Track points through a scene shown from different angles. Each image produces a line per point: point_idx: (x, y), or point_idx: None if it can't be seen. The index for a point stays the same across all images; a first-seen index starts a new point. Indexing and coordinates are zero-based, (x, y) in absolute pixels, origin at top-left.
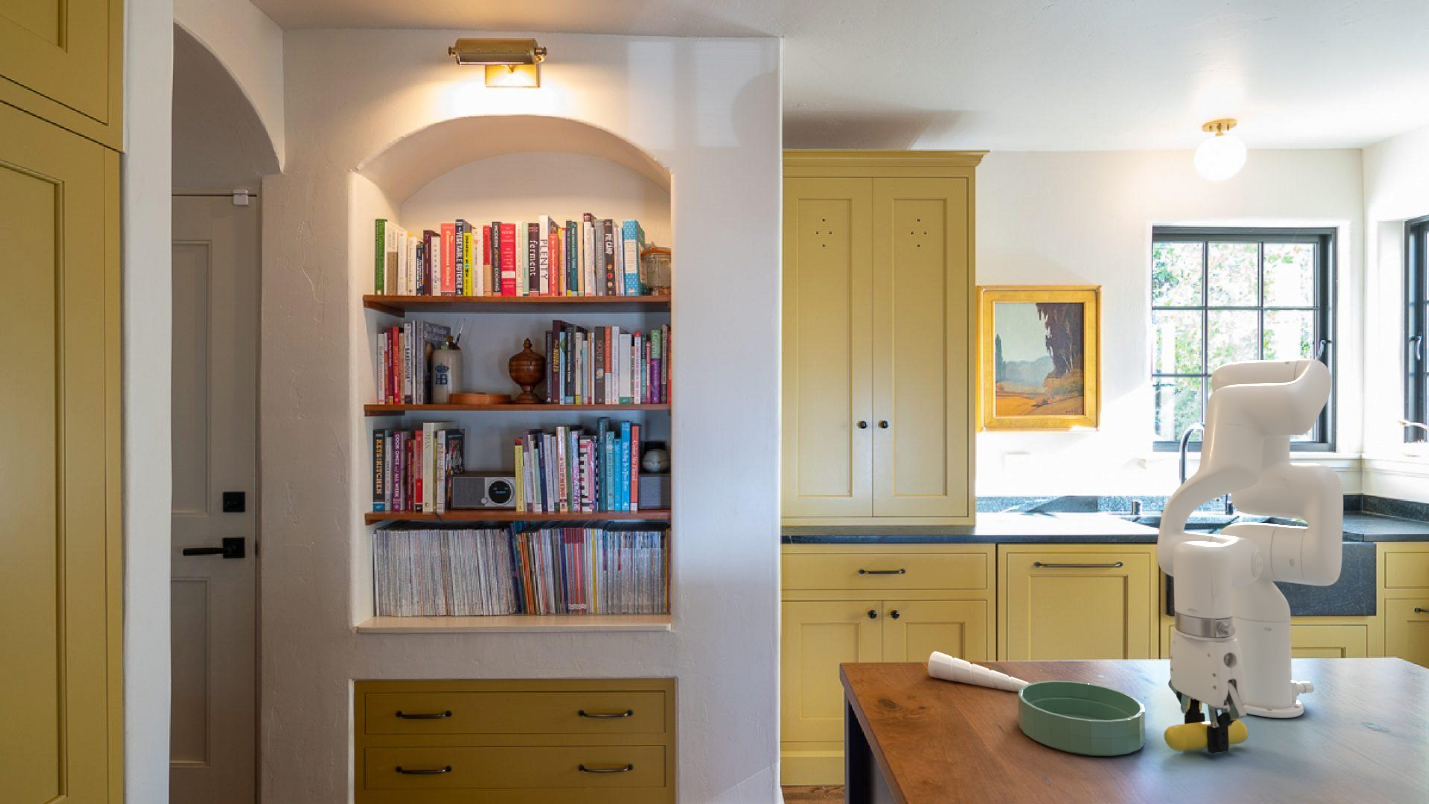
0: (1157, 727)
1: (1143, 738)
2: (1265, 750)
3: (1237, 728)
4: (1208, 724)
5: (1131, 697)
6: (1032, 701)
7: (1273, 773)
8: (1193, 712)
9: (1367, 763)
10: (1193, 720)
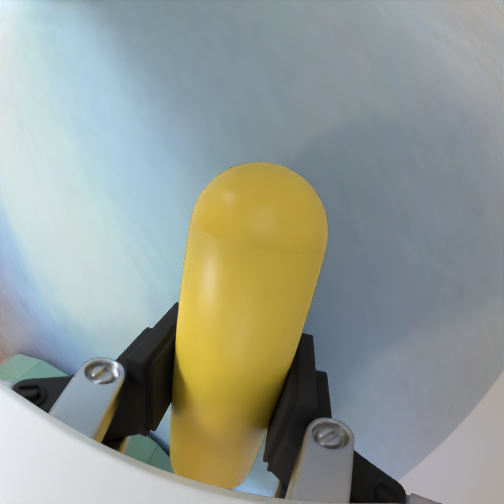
0: (59, 291)
1: (161, 467)
2: (343, 130)
3: (308, 289)
4: (233, 420)
5: None
6: None
7: (456, 316)
8: (138, 420)
9: (493, 3)
10: (160, 406)
